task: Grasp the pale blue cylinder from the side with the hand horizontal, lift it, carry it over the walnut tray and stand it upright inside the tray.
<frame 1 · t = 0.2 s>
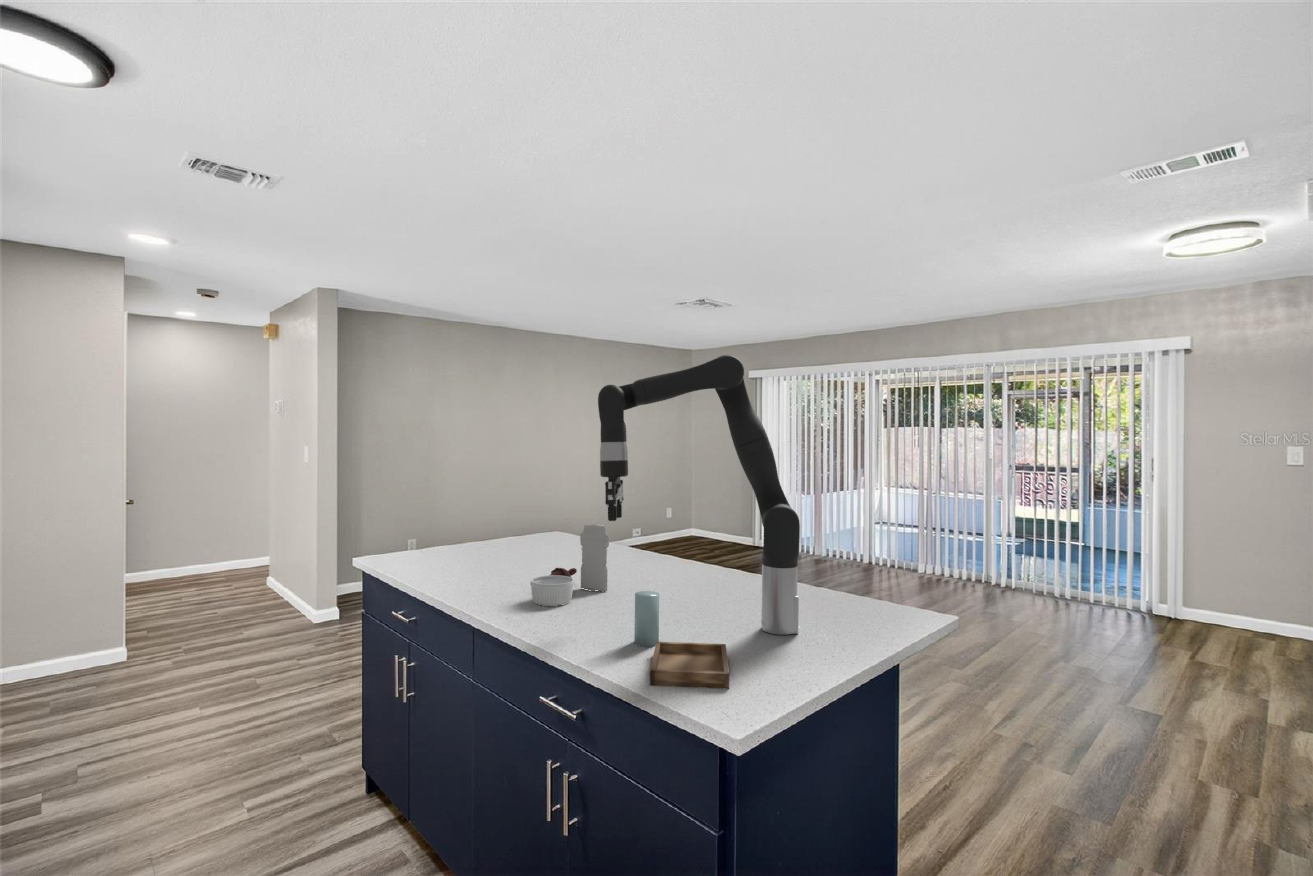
hand: (615, 519, 164), 28 cm above the worktop, tool pointing down, fingers open, 8 cm apart
pale blue cylinder: (646, 642, 149), on the worktop
ramekin: (552, 603, 186), on the worktop
tall pale column: (593, 590, 201), on the worktop
tray: (690, 670, 132), on the worktop
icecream: (559, 588, 204), on the worktop
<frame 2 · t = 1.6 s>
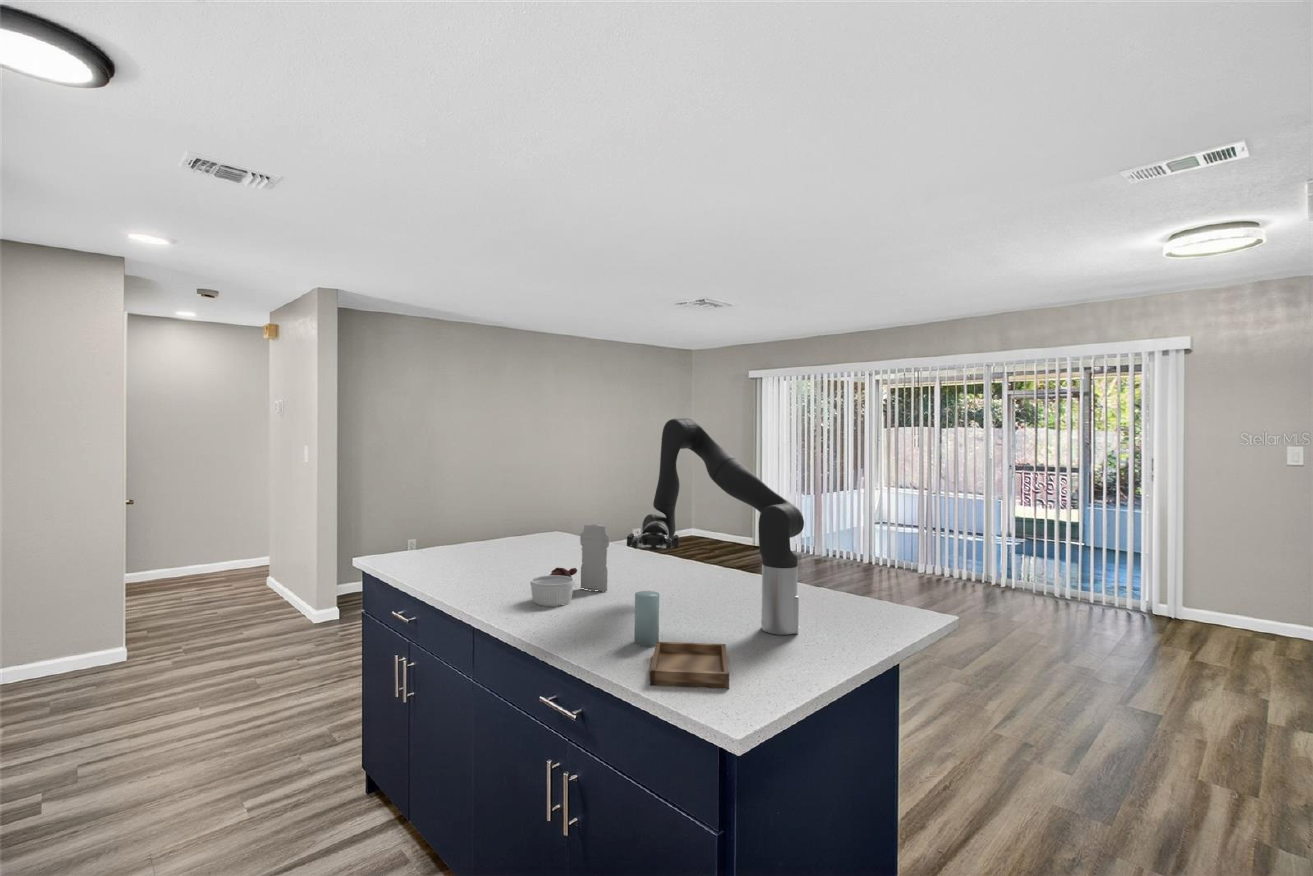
hand: (651, 545, 160), 22 cm above the worktop, tool horizontal, fingers open, 8 cm apart
nothing on the worktop moved.
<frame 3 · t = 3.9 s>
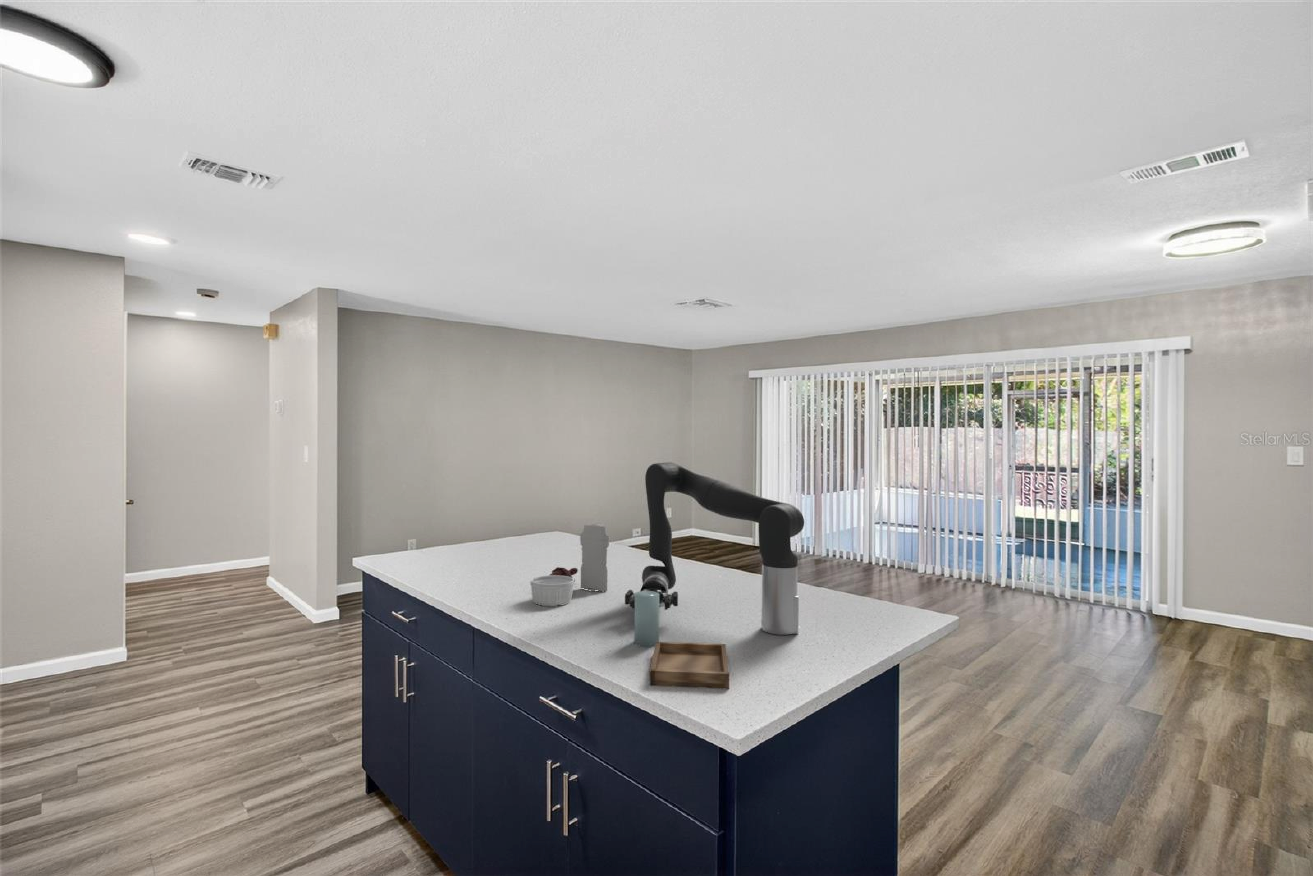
hand: (649, 605, 157), 7 cm above the worktop, tool horizontal, fingers open, 8 cm apart
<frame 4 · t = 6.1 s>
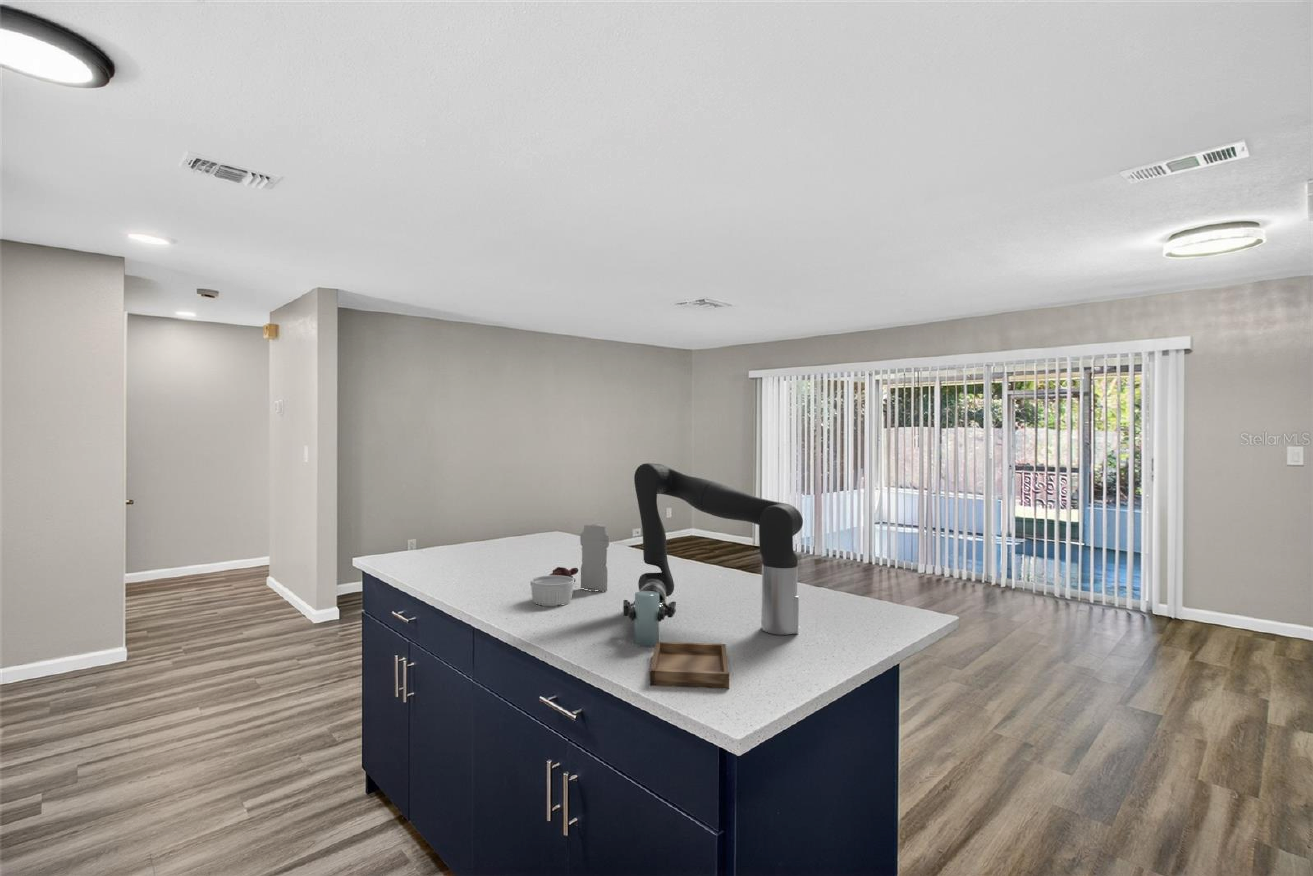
hand: (646, 616, 147), 7 cm above the worktop, tool horizontal, fingers closed on pale blue cylinder, 6 cm apart
pale blue cylinder: (646, 642, 149), on the worktop, touching gripper
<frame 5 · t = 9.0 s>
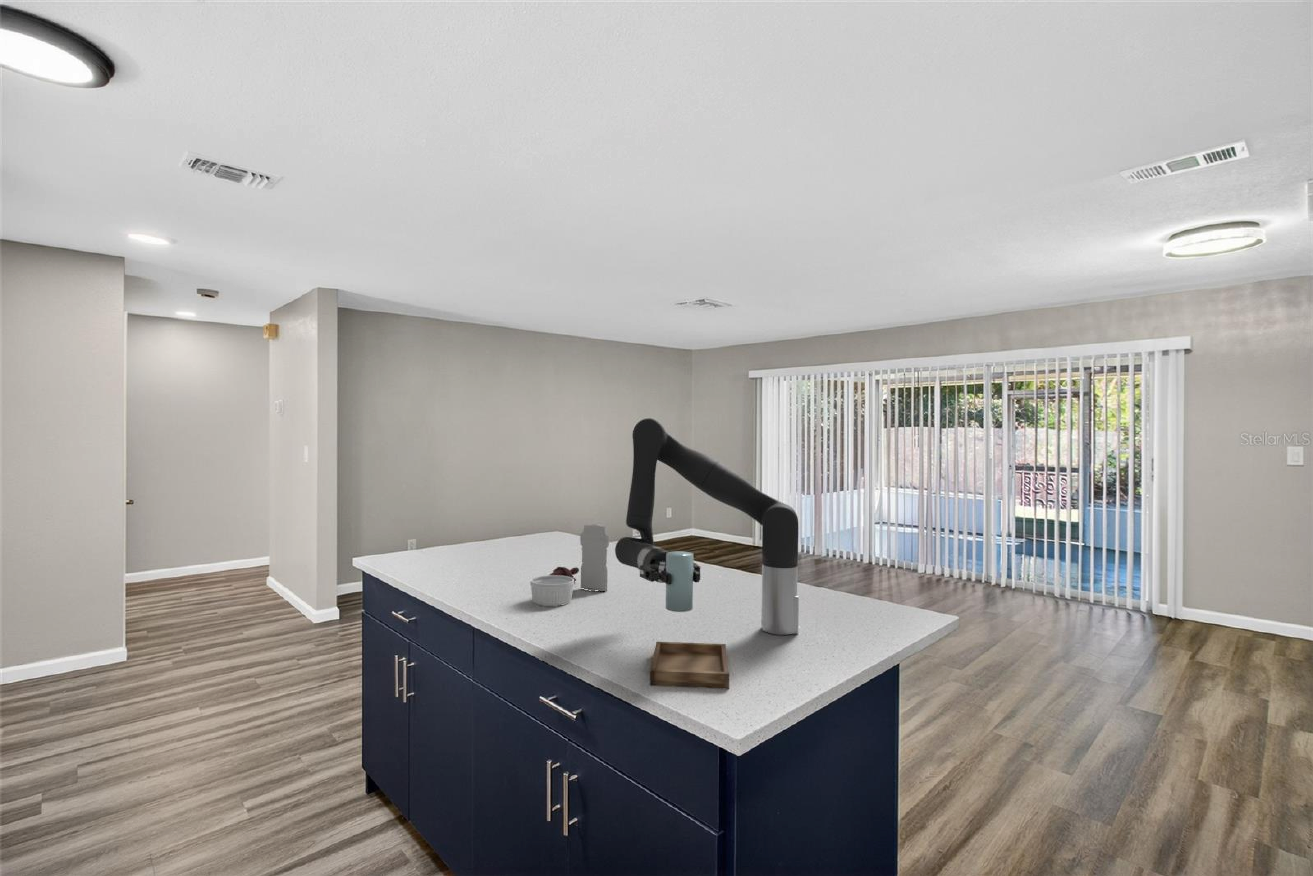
hand: (684, 578, 132), 20 cm above the worktop, tool horizontal, fingers closed on pale blue cylinder, 6 cm apart
pale blue cylinder: (679, 608, 134), point 13 cm above the worktop, touching gripper
when the fingers open (9 cm above the worktop, at t = 11.8 s): pale blue cylinder drops 1 cm, resting on tray.
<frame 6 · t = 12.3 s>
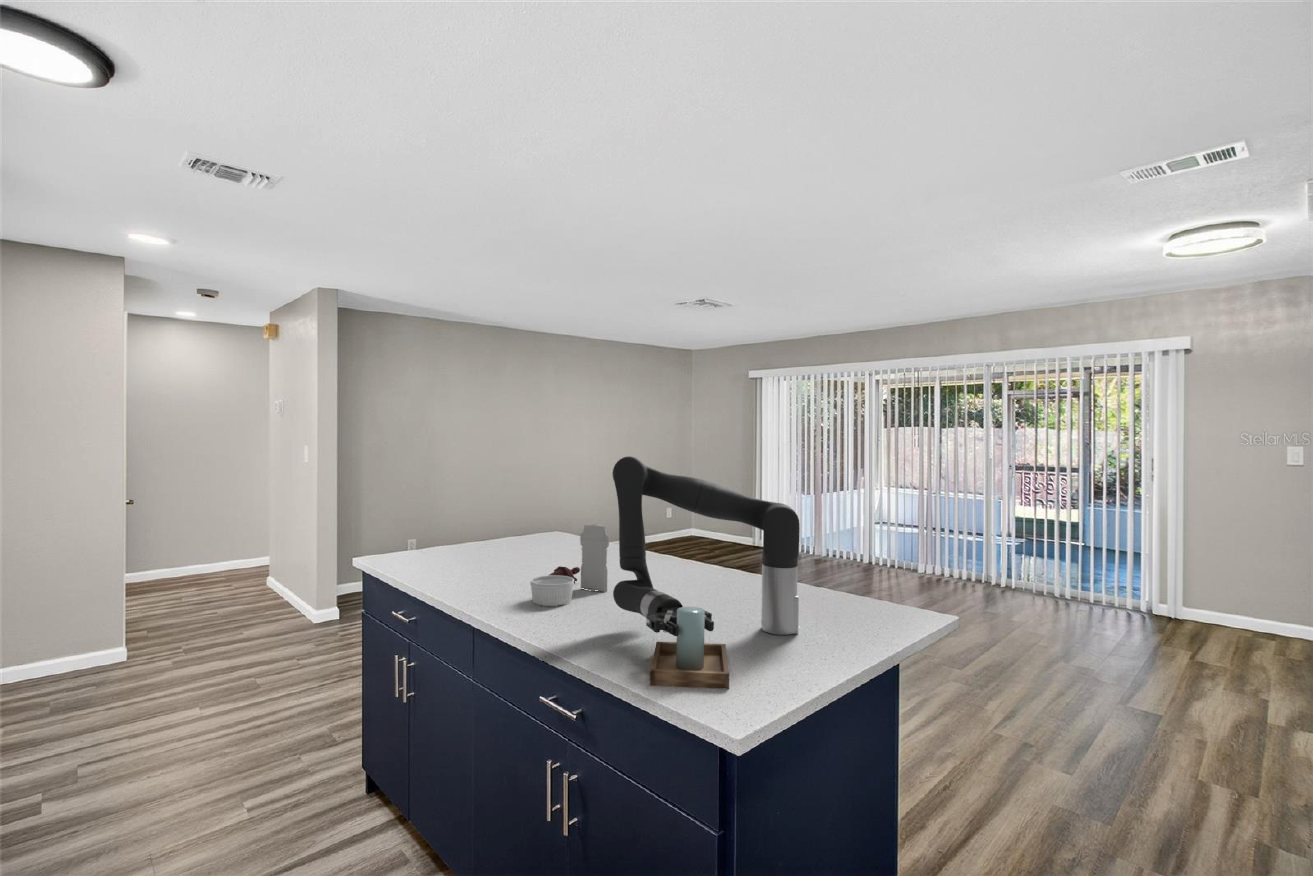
hand: (694, 629, 130), 10 cm above the worktop, tool horizontal, fingers open, 8 cm apart
pale blue cylinder: (689, 665, 132), point 1 cm above the worktop, touching tray
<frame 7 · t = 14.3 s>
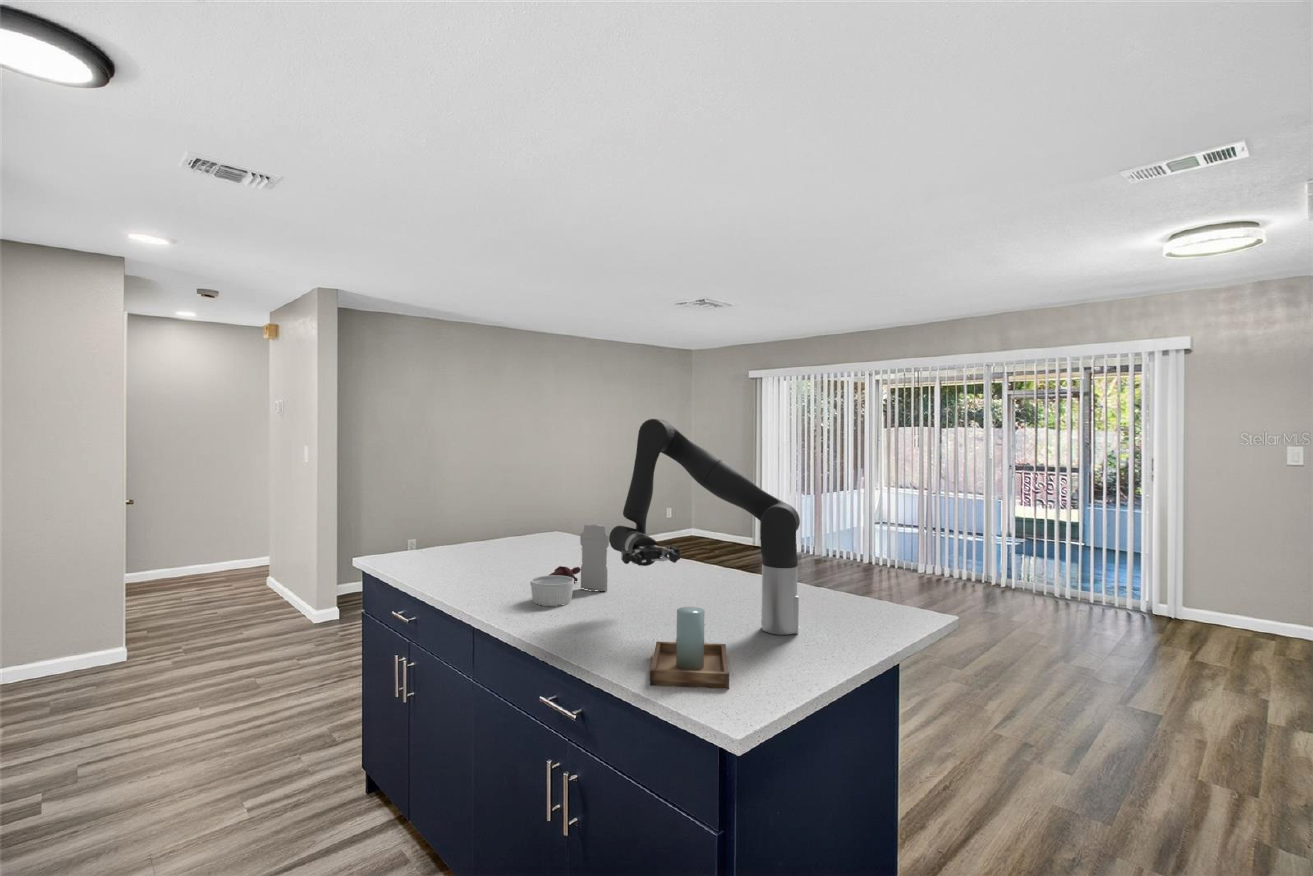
hand: (658, 559, 144), 21 cm above the worktop, tool horizontal, fingers open, 8 cm apart
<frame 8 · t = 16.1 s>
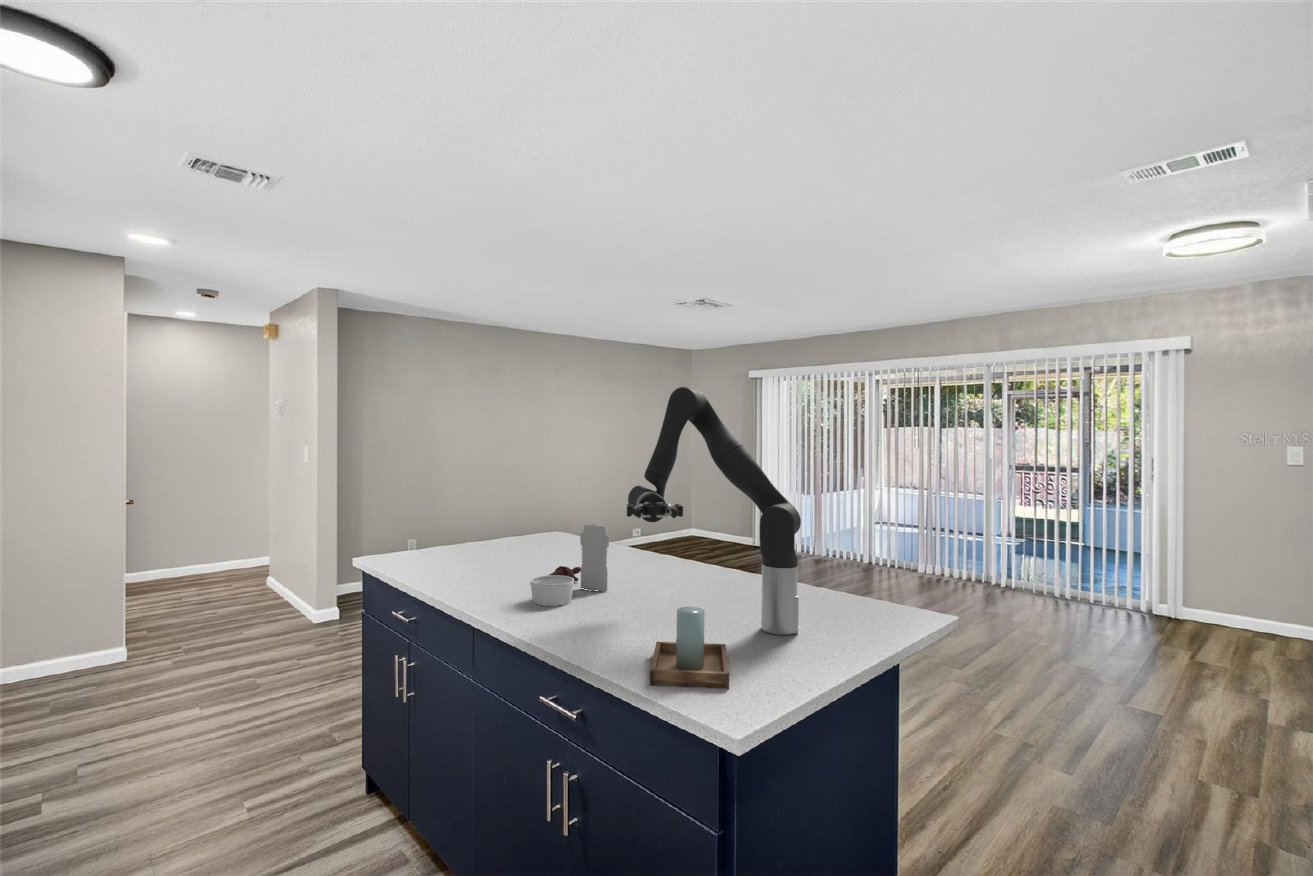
hand: (657, 513, 147), 32 cm above the worktop, tool horizontal, fingers open, 8 cm apart
at the end: pale blue cylinder inside the target area on the tray (0.1 cm from its centre), point 1.0 cm above the tray's base; pale blue cylinder tilted 0°; the gripper is holding nothing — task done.
